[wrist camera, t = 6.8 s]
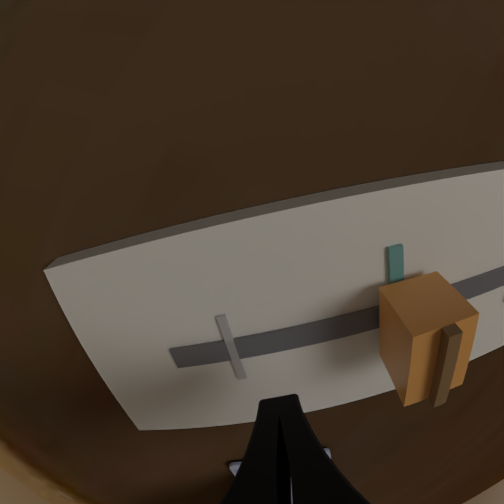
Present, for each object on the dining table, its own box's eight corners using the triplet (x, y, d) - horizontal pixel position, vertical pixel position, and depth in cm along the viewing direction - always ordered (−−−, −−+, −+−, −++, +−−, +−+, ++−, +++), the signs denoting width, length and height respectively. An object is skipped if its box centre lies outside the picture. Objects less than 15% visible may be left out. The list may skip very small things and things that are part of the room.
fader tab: (430, 338, 14) (467, 392, 10) (379, 354, 15) (408, 416, 11) (436, 271, 13) (487, 322, 9) (378, 287, 13) (419, 347, 9)
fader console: (519, 320, 17) (532, 332, 15) (143, 413, 19) (138, 432, 18) (539, 156, 12) (558, 162, 11) (57, 257, 15) (41, 272, 13)
